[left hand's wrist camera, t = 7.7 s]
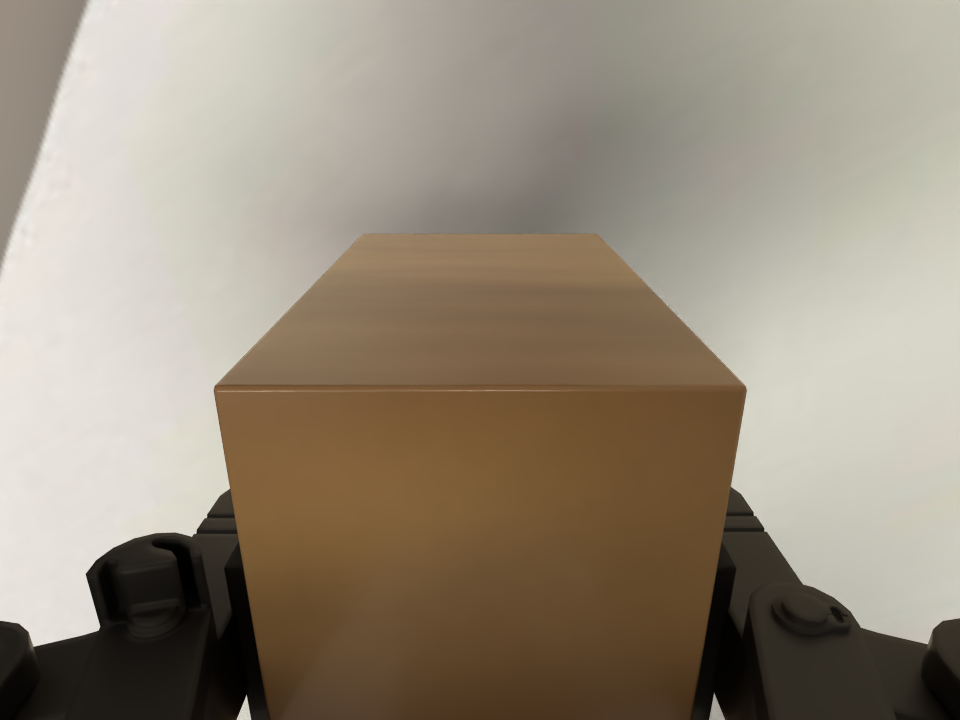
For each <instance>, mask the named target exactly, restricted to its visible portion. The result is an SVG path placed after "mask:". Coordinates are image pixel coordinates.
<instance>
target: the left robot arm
mask: <svg viewBox="0 0 960 720" xmlns="http://www.w3.org/2000/svg"><path fill="white" fill-rule="evenodd" d="M86 577H87V580H88V584H89V587H90V591H91V595H92V598H93V602H94V605H95V609H96V612H97V616H98V620H99V623H100V629H99V631H96V632H93V633H90V634H86V635H83V636H79V637H74V638H70V639H66V640H61V641H57V642H53V643H48V644H44V645H40V646H35V647H33V644H32V641H31V638H30V635H29V632H28V631H27V630H25V629H24V628H23V627H22V626H21V625H20V624H17V623H11V622H5V621H0V720H237V717H238V715H239V712H240V710H241V707H242V705H243V702H244V700H245V697H246V695H247V698H248V704H249V709H250V715H251V720H269V717H268V711H267V705H266V699H265V693H264V687H263V681H262V675H261V669H260V663H259V657H258V651H257V645H256V640H255V634H254V628H253V622H252V616H251V610H250V604H249V598H248V592H247V586H246V580H245V574H244V568H243V562H242V556H241V550H240V544H239V538H238V532H237V526H236V520H235V514H234V508H233V502H232V496H231V490H230V489H229V490H228V491H226V492H225V493H224V494H222V495H221V496H220V497H219V498H218V500H217V501H216V503H215V504H214V506H213V507H212V509H211V510H210V511H209V513H208V514H207V518H205V519H204V520H203V522H202V523H201V525H200V526H199V528H198V529H197V534H194V535H193V536H192V537H191V536H187V535H183V534H179V533H155V534H151V535H147V536H143V537H139V538H135V539H132V540H130V541H128V542H126V543H123V544H121V545H119V546H117V547H114V548H113V549H111V550H110V551H109V552H107V553H106V554H104V555H103V556H102V557H100V558H99V559H97V560H96V561H95V563H94V564H93V565H92V567H91V568H90V569H89V571H88V572H87V573H86ZM714 693H715V695H716V698H717V700H718V703H719V705H720V708H721V710H722V713H723V715H724V718H725V720H960V619H953V620H947V621H942V622H941V623H940V624H939V625H938V626H936V627H935V628H934V629H933V631H932V634H931V637H930V640H929V643H928V644H923V643H919V642H915V641H910V640H906V639H902V638H897V637H893V636H889V635H884V634H880V633H876V632H873V631H870V630H866V629H863V628H860V626H859V624H858V623H857V621H856V619H855V618H854V616H853V615H852V613H851V612H850V611H849V610H848V609H847V608H846V607H844V606H843V605H842V604H841V603H840V602H838V601H837V600H836V599H835V598H833V597H831V596H829V595H827V594H825V593H823V592H821V591H819V590H818V589H816V588H813V587H810V586H806V585H803V584H802V583H801V581H800V580H799V578H798V577H797V575H796V574H795V572H794V571H793V570H792V568H791V567H790V565H789V564H788V562H787V561H786V559H785V558H784V556H783V555H782V553H781V552H780V551H779V549H778V548H777V546H776V545H775V543H774V542H773V540H772V539H771V537H770V536H769V534H768V533H767V532H764V527H763V526H762V524H761V523H760V521H759V520H758V518H757V517H756V516H754V513H753V511H752V510H751V508H750V507H749V505H748V504H747V502H746V501H745V499H744V498H743V496H742V495H741V494H740V493H739V492H737V491H736V490H734V489H733V488H732V487H730V493H729V499H728V505H727V511H726V517H725V523H724V529H723V535H722V541H721V547H720V553H719V559H718V565H717V571H716V577H715V583H714V589H713V595H712V600H711V606H710V612H709V618H708V624H707V630H706V636H705V642H704V648H703V654H702V660H701V666H700V672H699V678H698V684H697V690H696V696H695V702H694V708H693V714H692V720H709V717H710V712H711V706H712V701H713V695H714Z"/></svg>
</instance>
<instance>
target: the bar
mask: <svg viewBox="0 0 960 720" xmlns="http://www.w3.org/2000/svg"><path fill="white" fill-rule="evenodd" d="M746 392H747V389H746V386H745V385H744V384H743V383H742V382H741V381H740V380H739V379H738V378H737V377H736V376H735V375H734V374H733V373H732V372H731V370H730V369H729V368H728V367H727V366H726V365H725V364H724V363H723V362H722V361H721V360H720V359H719V358H718V357H717V356H716V355H715V354H714V353H713V352H712V351H711V350H710V349H709V348H708V347H707V346H706V345H705V344H704V343H703V342H702V341H701V340H700V339H699V338H698V337H697V336H696V335H695V334H694V333H693V331H692V330H691V329H690V328H689V327H688V326H687V325H686V324H685V323H684V322H683V321H682V320H681V319H680V318H679V317H678V316H677V315H676V314H675V313H674V312H673V311H672V310H671V309H670V308H669V307H668V306H667V305H666V304H665V303H664V302H663V301H662V300H661V299H660V298H659V297H658V296H657V295H656V294H655V293H654V291H653V290H652V289H651V288H650V287H649V286H648V285H647V284H646V283H645V282H644V281H643V280H642V279H641V278H640V277H639V276H638V275H637V274H636V273H635V272H634V271H633V270H632V269H631V268H630V267H629V266H628V265H627V264H626V263H625V262H624V261H623V260H622V259H621V258H620V257H619V256H618V255H617V254H616V253H615V251H614V250H613V249H612V248H611V247H610V246H609V245H608V244H607V243H606V242H605V241H604V240H603V239H602V238H601V237H600V236H599V235H598V234H363V235H362V236H361V237H360V238H359V239H358V240H357V241H356V242H355V243H354V244H353V245H352V246H351V247H350V248H349V249H348V250H347V251H346V252H345V253H344V254H343V255H342V256H341V257H340V258H339V259H338V260H337V261H336V262H335V263H334V264H333V265H332V266H331V267H330V268H329V269H328V270H327V272H326V273H325V274H324V275H323V276H322V277H321V278H320V279H319V280H318V281H317V282H316V283H315V284H314V285H313V286H312V287H311V288H310V289H309V290H308V291H307V292H306V293H305V294H304V295H303V296H302V297H301V298H300V299H299V300H298V301H297V302H296V303H295V304H294V305H293V306H292V307H291V308H290V309H289V310H288V311H287V313H286V314H285V315H284V316H283V317H282V318H281V319H280V320H279V321H278V322H277V323H276V324H275V325H274V326H273V327H272V328H271V329H270V330H269V331H268V332H267V333H266V334H265V335H264V336H263V337H262V338H261V339H260V340H259V341H258V342H257V343H256V344H255V345H254V346H253V347H252V348H251V349H250V350H249V351H248V352H247V353H246V355H245V356H244V357H243V358H242V359H241V360H240V361H239V362H238V363H237V364H236V365H235V366H234V367H233V368H232V369H231V370H230V371H229V372H228V373H227V374H226V375H225V376H224V377H223V378H222V379H221V380H220V381H219V382H218V383H217V384H216V385H215V387H214V395H215V401H216V407H217V413H218V419H219V425H220V431H221V437H222V443H223V449H224V455H225V460H226V466H227V472H228V478H229V484H230V490H231V496H232V502H233V508H234V514H235V520H236V526H237V532H238V538H239V544H240V550H241V556H242V562H243V568H244V574H245V580H246V586H247V592H248V598H249V604H250V610H251V616H252V622H253V628H254V634H255V640H256V645H257V651H258V657H259V663H260V669H261V675H262V681H263V687H264V693H265V699H266V705H267V711H268V717H269V720H692V714H693V708H694V702H695V696H696V690H697V684H698V678H699V672H700V666H701V660H702V654H703V648H704V642H705V636H706V630H707V624H708V618H709V612H710V606H711V600H712V595H713V589H714V583H715V577H716V571H717V565H718V559H719V553H720V547H721V541H722V535H723V529H724V523H725V517H726V511H727V505H728V499H729V493H730V487H731V481H732V475H733V470H734V464H735V458H736V452H737V446H738V440H739V434H740V428H741V422H742V416H743V410H744V404H745V398H746Z"/></svg>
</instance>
